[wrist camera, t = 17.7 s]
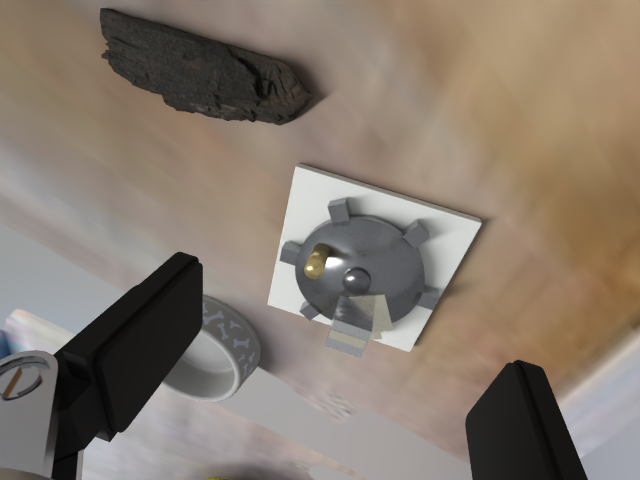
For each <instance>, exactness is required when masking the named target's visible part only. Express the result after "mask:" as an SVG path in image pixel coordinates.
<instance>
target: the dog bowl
mask: <svg viewBox="0 0 640 480" xmlns="http://www.w3.org/2000/svg"><path fill="white" fill-rule="evenodd" d="M260 357H261V346H260V342H259V339H258V337H257V335H256V333H255V331H254V329H253V328H252V326H251V325H250V324H249V323H248V321H247V320H246V319H245V318H244V317H243V316H242V315H240V314H239V313H238V312H237V311H236V310H234V309H233V308H231V307H230V306H228V305H227V304H225V303H223V302H221V301H219V300H217V299H215V298H212V297H210V296H207V295H203V323H202V328H201V330H200V332H199V334H198V335H197V336H196V338H195V339H194V340H193V342H192V343H191V344H190V346H189V347H188V348H187V350H186V351H185V352H184V354H183V355H182V356H181V358H180V359H179V360H178V362H177V363H176V364H175V366H174V367H173V368H172V370H171V371H170V372H169V374H168V375H167V376H166V378H165V379H164V380H163V381H162V383H161V385H163V386H164V387H166V388H167V389H169V390H171V391H172V392H174V393H176V394H178V395H180V396H183V397H185V398H188V399H191V400H195V401H201V402H219V401H222V400H226V399H228V398H229V397H231V396H233V395H234V394H235V393H236V392H237V390H238V389H239V388H240V387H241V385H242V384H243V383H244V382H245V380H246V379H247V378H248V377H249V375H251V374H252V372H253V371H254V370H255V369H256V367H257V366H258V364H259V361H260Z"/></svg>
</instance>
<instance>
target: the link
mask: <svg viewBox="0 0 640 480" xmlns="http://www.w3.org/2000/svg"><path fill="white" fill-rule="evenodd" d="M374 309H375V307H374V306H371V305H368V304H365V303H362V302H359V301H356V300H353V299H350V298H347V297H344V296H341V295H340V298H339V301H338V304H337V306H336V309H335V312H334V315H333V318H332V320H331V324H330V328H329V332H328V336H327V339H326V343H325V346H328V347H331V348H334V349H337V350H339V351H342V352H345V353H348V354H351V355H354V356H357V357H361V355H362V353H363V351H364V349H365V346H366V344H367V342H368V340H369V338H370V335H371V333H372V328H373V318H374Z"/></svg>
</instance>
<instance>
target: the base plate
mask: <svg viewBox="0 0 640 480" xmlns="http://www.w3.org/2000/svg"><path fill="white" fill-rule="evenodd" d="M342 198H347V199H348V203H349V207H350V210H351V214H364V215H370V216H375V217H378V218H382V219H384V220H386V221H389V222H391V223H392V224H394V225H396V226H398V227H399V228H400V229H402V230H403V229H404V228H405V227H407V226H408V225H409V224H411V223H412V222H413V221H415V220H416V219H418V220H419V221H420V223H421V224H422V225H423V226H424V227H425V228H426V229H427V230H428V231H429V236H430V239H428V240H427V241H425V242H424V243H422V244H421V245H419V246H418V247H417V248H418V249H419V251H420V254H421V257H422V260H423V265H424V273H425V284H424V285H426V286H429V287H432V288H435V289H438V290H439V296H440V297H441V295H442V294H443V292H444V290H445V288H446V286H447V285H448V283H449V281H450V279H451V278H452V276H453V274H454V272H455V270H456V269H457V267H458V265H459V263H460V262H461V260H462V258H463V256H464V254H465V253H466V251H467V249H468V247H469V246H470V244H471V242H472V240H473V238H474V237H475V235H476V233H477V231H478V230H479V228H480V226H481V224H482V222H481V220H480V218H477V217H474V216H470V215H467V214H464V213H461V212H457V211H454V210H451V209H448V208H444V207H441V206H438V205H434V204H431V203H428V202H425V201H421V200H418V199H415V198H412V197H408V196H405V195H402V194H398V193H395V192H392V191H389V190H385V189H382V188H379V187H376V186H372V185H369V184H366V183H362V182H359V181H356V180H353V179H349V178H346V177H343V176H340V175H336V174H333V173H330V172H326V171H323V170H320V169H317V168H313V167H310V166H307V165H304V164H300V163H298V164H297V165H296V167H295V172H294V177H293V182H292V187H291V192H290V197H289V202H288V206H287V211H286V216H285V221H284V226H283V231H282V236H281V241H280V246H279V250H278V255H277V260H276V265H275V270H274V275H273V280H272V285H271V290H270V295H269V299H268V305H271V306H274V307H277V308H280V309H283V310H286V311H289V312H292V313H295V314H298V315H301V316H304V315H303V314H302V313H300V312H299V311H300V308H301V306H302V303H304V302H305V301H306V299H305V298H304V297H303V295H302V293H301V291H300V289H299V287H298V284H297V281H296V276H295V266H294V265H291V264H288V263H284V262H281V261H279V260H280V255H281V250H282V247H283V245H284V244H285V242H286V241H287V242H291V243H294V244H297V245H300V246H302V244H303V242H304V241H305V239H306V237H307V236H308V235H309V234H310V232H311V231H313V230H314V229H315V228H316V227H317V226H319V225H320V224H321V223H323V222H325V221H327V220H329V219H331V217H330V214H329V211H328V207H327V206H328V204H329V202H330V201H332V200H337V199H342ZM432 311H433V310H430V309H427V308H424V307H421V306H418V305H416V306H415V307H414V308H413V310H412V311H411V312H410V313H408V314H407V315H406V316H405V317H403V318H401V319H400V320H398V321H396V322H394V323H392V325H393V330H383V333H382V339H374V340H375V341H378V342H381V343H384V344H387V345H390V346H393V347H395V348H398V349H401V350H404V351H407V352H410V350H411V349H412V347H413V345H414V343H415V341H416V340H417V338H418V336H419V334H420V333H421V331H422V329H423V327H424V325H425V324H426V322H427V320H428V318H429V317H430V315H431V313H432ZM304 317H305V316H304ZM312 320H315V321H318V322H321V323H324V324H327V325H330V324H331V320H330V319H328V318H326V317H324V316H323V315H321V314H319V315H318V316H316V317H315V318H313V319H312Z"/></svg>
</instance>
